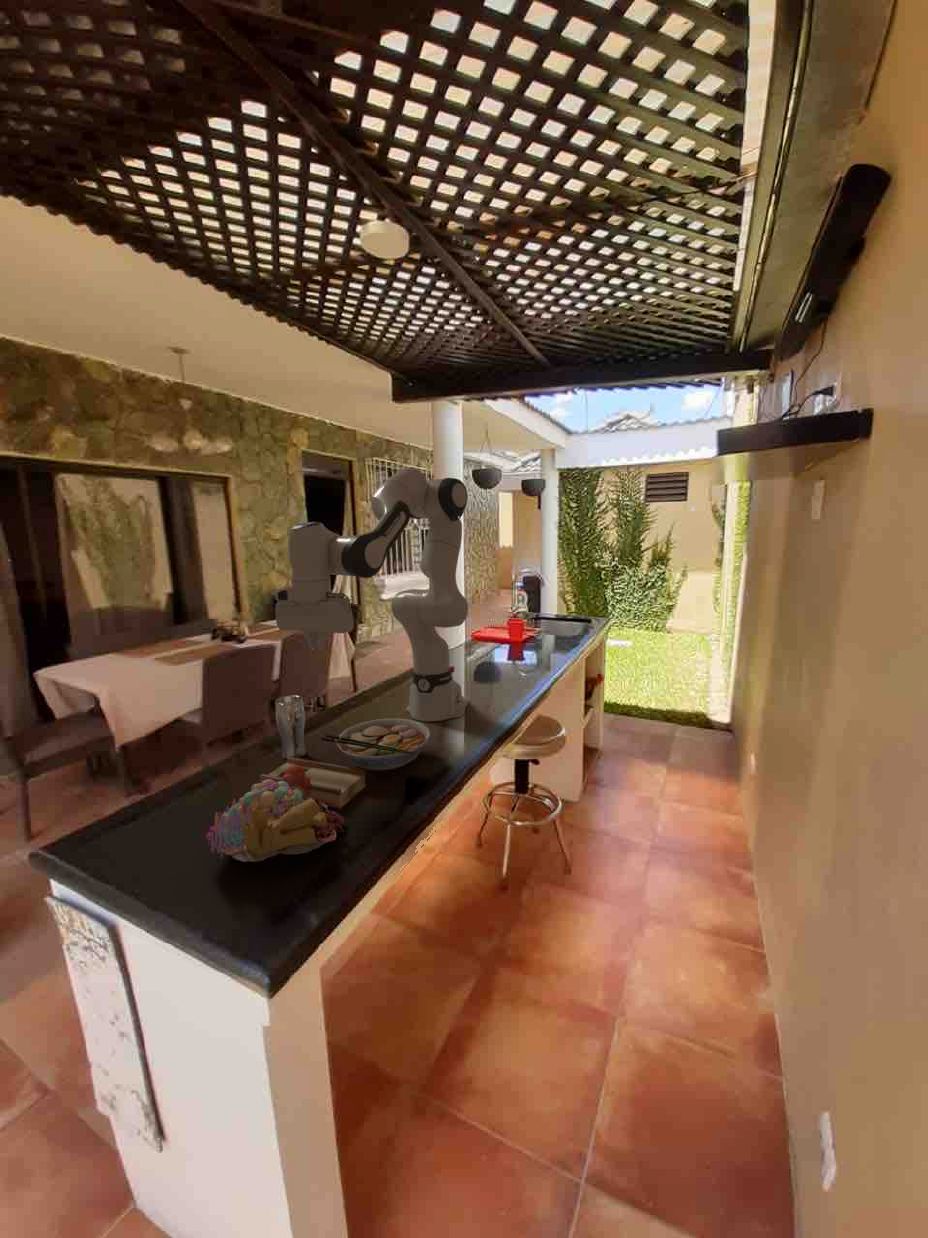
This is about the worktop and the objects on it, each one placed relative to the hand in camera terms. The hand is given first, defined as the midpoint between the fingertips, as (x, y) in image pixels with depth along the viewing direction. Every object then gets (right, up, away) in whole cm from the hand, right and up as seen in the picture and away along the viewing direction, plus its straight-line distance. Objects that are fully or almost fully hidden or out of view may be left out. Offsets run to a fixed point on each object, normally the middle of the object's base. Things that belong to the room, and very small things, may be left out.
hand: (316, 649), depth 117 cm
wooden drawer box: (+2, -31, -8) cm, 32 cm away
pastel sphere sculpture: (0, -32, -26) cm, 41 cm away
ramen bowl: (+16, -29, +3) cm, 33 cm away
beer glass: (-9, -28, +10) cm, 31 cm away
